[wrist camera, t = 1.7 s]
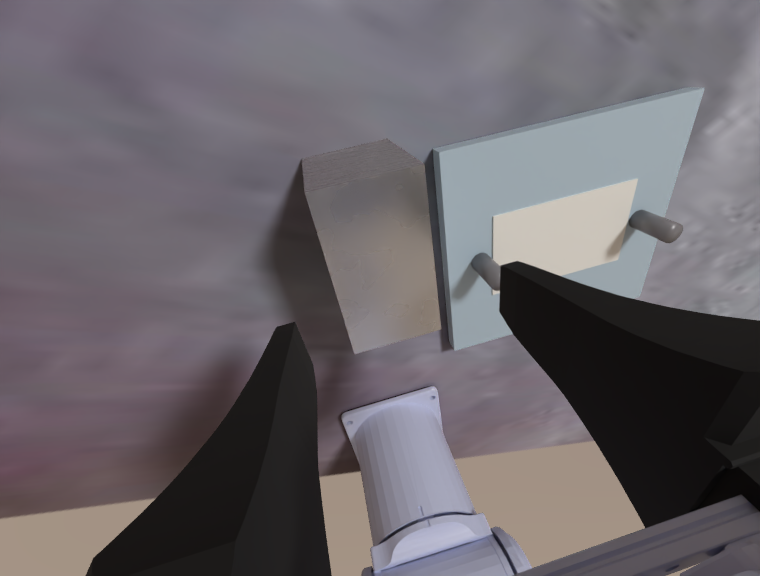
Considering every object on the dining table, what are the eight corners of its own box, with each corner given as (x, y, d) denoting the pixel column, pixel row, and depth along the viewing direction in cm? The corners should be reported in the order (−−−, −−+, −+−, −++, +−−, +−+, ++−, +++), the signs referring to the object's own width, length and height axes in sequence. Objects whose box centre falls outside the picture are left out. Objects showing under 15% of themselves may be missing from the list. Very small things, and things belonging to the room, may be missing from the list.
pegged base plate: (629, 289, 27) (669, 316, 24) (449, 342, 26) (469, 376, 23) (687, 87, 19) (757, 89, 16) (432, 148, 18) (459, 163, 15)
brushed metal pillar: (386, 138, 17) (424, 163, 12) (407, 270, 22) (441, 329, 17) (301, 158, 17) (304, 193, 12) (340, 289, 21) (354, 354, 16)
